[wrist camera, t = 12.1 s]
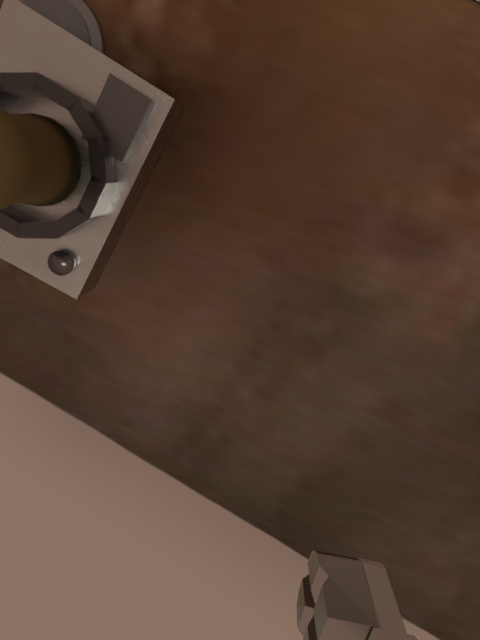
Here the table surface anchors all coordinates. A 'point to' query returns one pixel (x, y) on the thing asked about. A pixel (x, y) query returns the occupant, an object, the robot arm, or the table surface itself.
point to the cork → (36, 160)
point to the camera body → (92, 141)
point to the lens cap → (71, 19)
